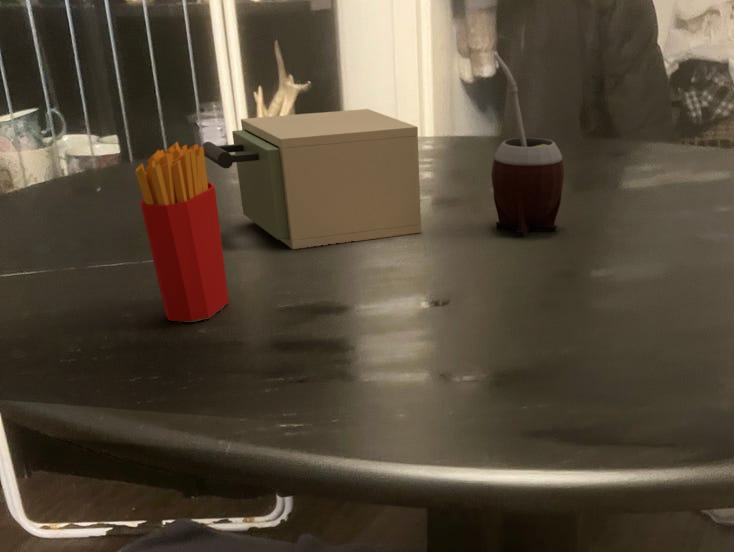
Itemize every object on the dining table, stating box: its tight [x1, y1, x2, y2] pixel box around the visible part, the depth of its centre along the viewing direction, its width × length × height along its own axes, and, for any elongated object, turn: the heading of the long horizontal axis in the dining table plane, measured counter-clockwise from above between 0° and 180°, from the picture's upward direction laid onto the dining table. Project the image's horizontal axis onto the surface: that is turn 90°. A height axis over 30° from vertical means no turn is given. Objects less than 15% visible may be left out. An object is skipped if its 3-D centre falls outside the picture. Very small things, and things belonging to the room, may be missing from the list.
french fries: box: [135, 141, 230, 321], centre depth 75 cm, size 8×4×12 cm, turn 169°
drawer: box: [201, 129, 289, 241], centre depth 96 cm, size 16×11×8 cm
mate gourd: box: [491, 53, 565, 238], centre depth 95 cm, size 8×8×15 cm
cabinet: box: [240, 108, 422, 250], centre depth 98 cm, size 14×13×10 cm
